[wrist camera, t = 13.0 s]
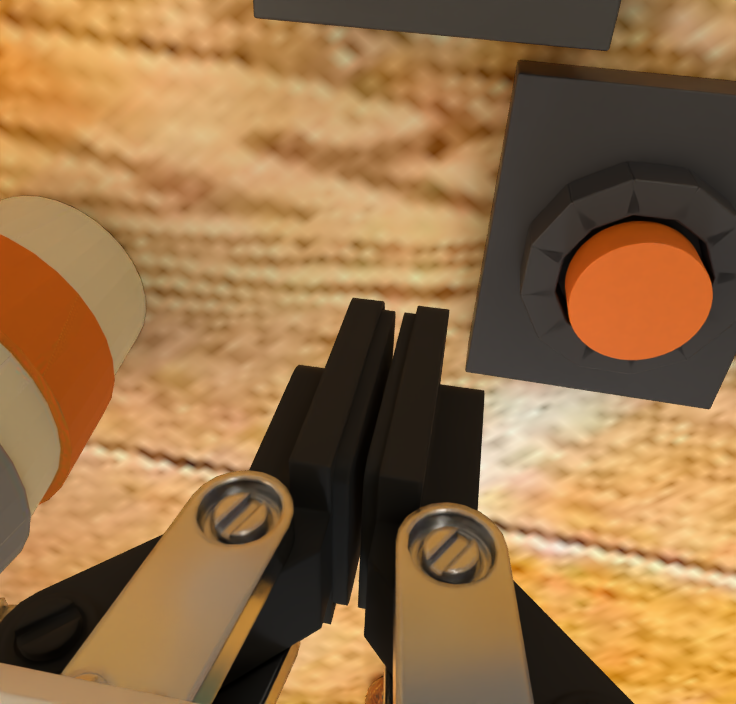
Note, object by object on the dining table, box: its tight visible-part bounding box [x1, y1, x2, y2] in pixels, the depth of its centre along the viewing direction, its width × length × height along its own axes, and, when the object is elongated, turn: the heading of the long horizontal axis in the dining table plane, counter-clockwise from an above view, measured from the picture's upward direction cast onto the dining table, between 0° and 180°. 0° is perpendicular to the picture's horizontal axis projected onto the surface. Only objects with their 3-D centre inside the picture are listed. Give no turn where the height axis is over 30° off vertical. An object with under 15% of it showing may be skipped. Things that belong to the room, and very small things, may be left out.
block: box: [465, 60, 736, 409], centre depth 24 cm, size 12×10×4 cm
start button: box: [565, 221, 713, 360], centre depth 22 cm, size 4×4×2 cm
